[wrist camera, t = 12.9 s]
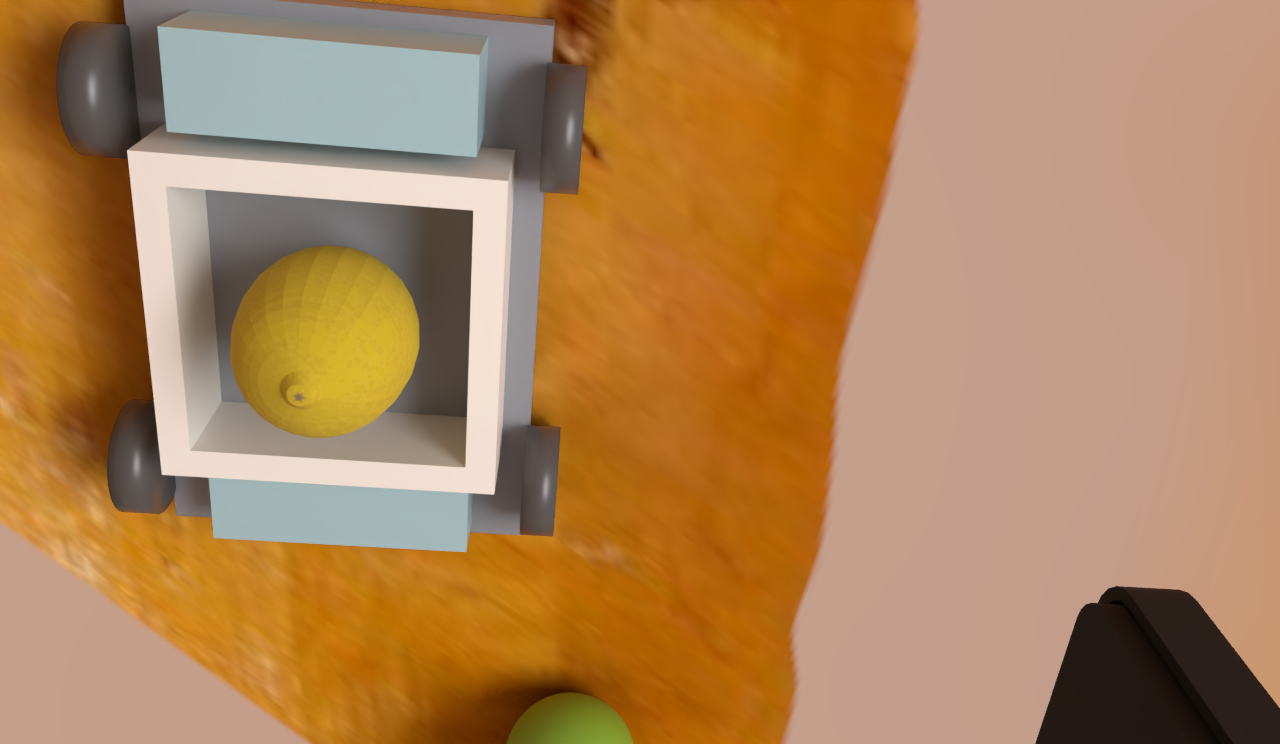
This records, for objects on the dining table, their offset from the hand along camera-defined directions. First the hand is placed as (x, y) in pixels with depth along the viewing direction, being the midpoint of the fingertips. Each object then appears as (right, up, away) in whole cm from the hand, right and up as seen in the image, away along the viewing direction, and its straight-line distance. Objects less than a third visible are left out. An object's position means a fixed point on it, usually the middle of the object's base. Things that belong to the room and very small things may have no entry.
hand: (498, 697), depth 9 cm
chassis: (-9, +6, +31) cm, 32 cm away
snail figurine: (-2, -12, +40) cm, 41 cm away
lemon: (-9, +5, +30) cm, 31 cm away
